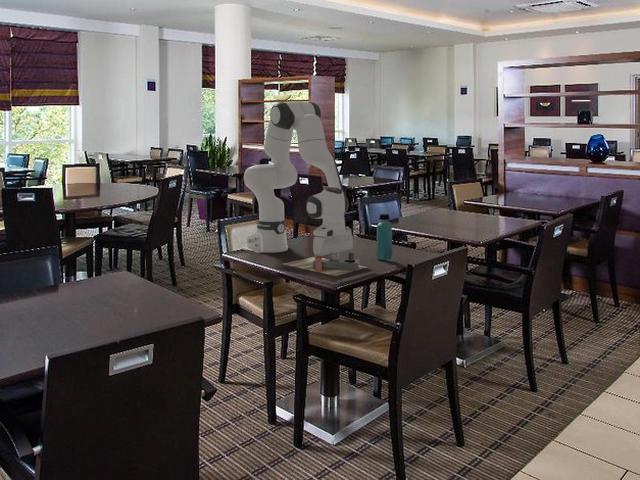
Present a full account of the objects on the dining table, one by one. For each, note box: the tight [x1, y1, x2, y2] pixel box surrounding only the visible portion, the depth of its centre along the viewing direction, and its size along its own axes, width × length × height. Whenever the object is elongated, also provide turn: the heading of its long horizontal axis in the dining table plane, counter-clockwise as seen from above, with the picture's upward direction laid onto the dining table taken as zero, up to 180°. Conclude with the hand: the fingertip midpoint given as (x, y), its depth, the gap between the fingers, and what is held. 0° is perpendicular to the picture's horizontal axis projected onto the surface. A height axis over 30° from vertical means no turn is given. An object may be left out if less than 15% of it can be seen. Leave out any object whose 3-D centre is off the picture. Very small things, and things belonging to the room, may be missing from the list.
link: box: [313, 258, 360, 272], centre depth 255 cm, size 18×7×3 cm, turn 85°
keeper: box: [313, 253, 323, 271], centre depth 254 cm, size 7×2×5 cm, turn 7°
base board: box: [283, 256, 368, 277], centre depth 260 cm, size 29×19×1 cm, turn 47°
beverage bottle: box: [376, 213, 393, 261], centre depth 269 cm, size 6×7×20 cm
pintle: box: [348, 252, 355, 262], centre depth 255 cm, size 2×2×6 cm
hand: (333, 263), depth 259 cm, fingers closed
